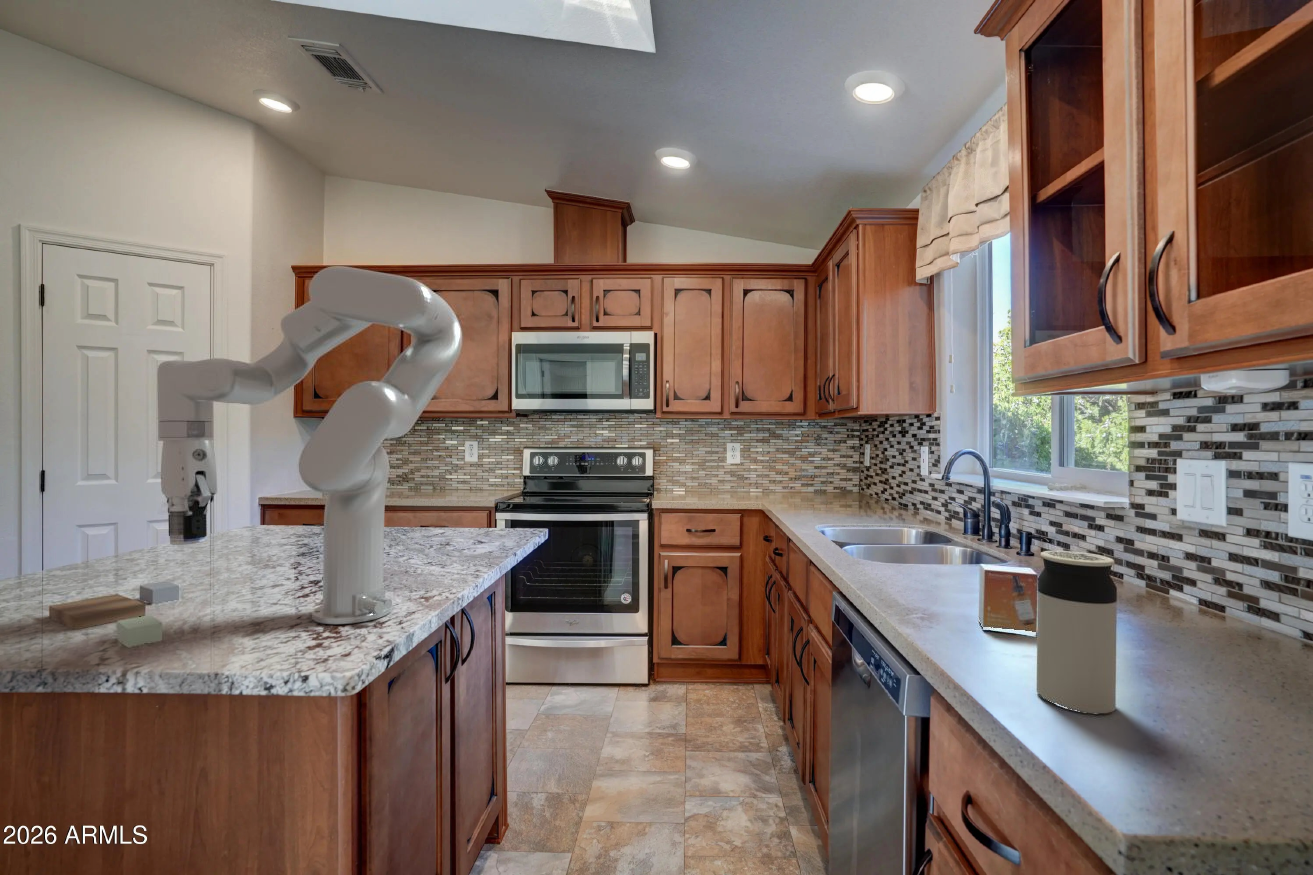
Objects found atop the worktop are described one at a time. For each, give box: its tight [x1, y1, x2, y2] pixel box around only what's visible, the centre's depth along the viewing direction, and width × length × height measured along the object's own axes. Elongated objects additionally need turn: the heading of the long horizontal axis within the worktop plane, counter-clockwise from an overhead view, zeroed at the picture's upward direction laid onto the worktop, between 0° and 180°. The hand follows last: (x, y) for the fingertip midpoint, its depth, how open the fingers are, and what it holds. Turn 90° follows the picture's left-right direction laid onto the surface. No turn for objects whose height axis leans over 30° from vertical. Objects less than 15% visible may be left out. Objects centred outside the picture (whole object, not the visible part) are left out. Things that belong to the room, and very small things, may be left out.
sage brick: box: [116, 614, 163, 648], centre depth 90 cm, size 6×4×3 cm, turn 54°
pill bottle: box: [169, 494, 205, 546], centre depth 103 cm, size 5×5×8 cm
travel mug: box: [1036, 550, 1118, 714], centre depth 73 cm, size 8×8×18 cm
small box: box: [978, 563, 1039, 632], centre depth 101 cm, size 8×6×10 cm
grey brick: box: [139, 580, 180, 605], centre depth 112 cm, size 6×4×3 cm, turn 59°
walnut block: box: [48, 593, 147, 630], centre depth 101 cm, size 12×9×2 cm
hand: (187, 535), depth 103 cm, fingers closed on pill bottle, 4 cm apart
